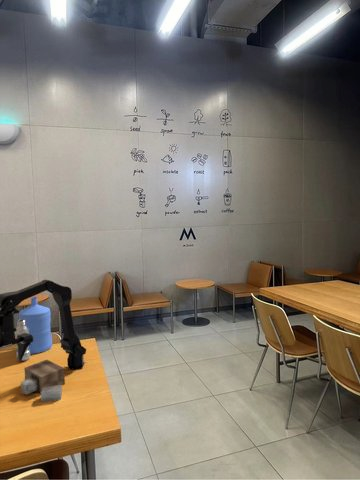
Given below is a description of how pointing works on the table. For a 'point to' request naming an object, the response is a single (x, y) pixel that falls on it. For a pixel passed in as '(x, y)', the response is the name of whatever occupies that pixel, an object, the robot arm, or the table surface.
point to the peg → (29, 385)
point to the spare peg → (51, 393)
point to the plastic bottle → (21, 330)
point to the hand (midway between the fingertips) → (8, 365)
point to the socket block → (46, 374)
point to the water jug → (38, 326)
